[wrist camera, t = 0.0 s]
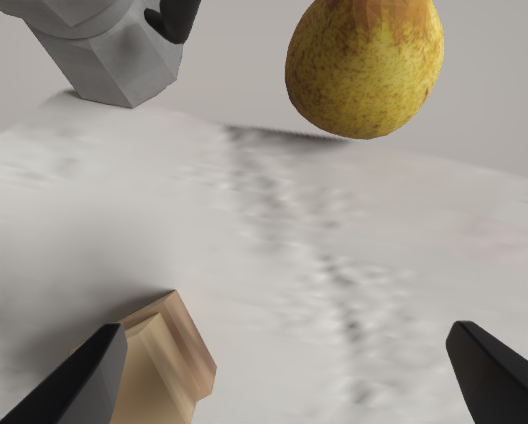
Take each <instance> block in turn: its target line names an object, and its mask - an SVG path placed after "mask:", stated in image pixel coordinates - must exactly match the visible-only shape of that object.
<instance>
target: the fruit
mask: <svg viewBox="0 0 528 424" xmlns="http://www.w3.org/2000/svg"><path fill="white" fill-rule="evenodd" d="M443 57H444V33H443V29H442V26H441V22H440V19H439V16H438V14H437V12H436V9H435V7H434V5H433V3H432V1H431V0H315V1H314V2H313V3H312V4H311V6H310V7H309V8H308V9H307V10H306V12H305V13H304V14H303V16H302V18H301V20H300V21H299V23H298V25H297V27H296V29H295V31H294V34H293V36H292V39H291V41H290V44H289V47H288V52H287V58H286V65H285V83H286V87H287V91H288V95H289V99H290V101H291V103H292V104H293V105H294V107H295V108H296V109H297V111H298V112H299V113H300V114H301V115H302V116H303V117H304V118H306V119H307V120H308V121H309V122H311V123H312V124H314V125H315V126H317V127H318V128H320V129H322V130H324V131H327V132H329V133H332V134H335V135H339V136H343V137H348V138H353V139H367V140H368V139H373V138H377V137H381V136H385V135H388V134H389V133H391V132H393V131H395V130H397V129H398V128H400V127H401V126H403V125H404V124H405V123H407V122H408V121H409V120H410V119H411V118H412V117H413V116H414V115H415V114H416V113H417V111H418V110H419V109H420V107H421V106H422V104H423V103H424V101H425V100H426V99H427V98H428V96H429V94H430V92H431V90H432V88H433V87H434V84H435V82H436V80H437V78H438V74H439V71H440V67H441V64H442V60H443Z"/></svg>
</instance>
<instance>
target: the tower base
mask: <svg viewBox="0 0 528 424" xmlns="http://www.w3.org/2000/svg"><path fill="white" fill-rule="evenodd" d="M159 312H160V314H161V315H162V317H163V319H164V321H165V323H166V325H167V327H168V329H169V331H170V333H171V335H172V336H173V338H174V340H175V342H176V344H177V346H178V348H179V350H180V352H181V354H182V355H183V357H184V359H185V361H186V363H187V365H188V367H189V369H190V371H191V373H192V374H193V376H194V378H195V380H196V382H197V384H198V386H199V388H200V391H199V395H198V398H197V401H199V400H201V399H203V398H204V397H206V396H208V395H210V394H211V393H212V389H213V384H214V379H215V374H216V369H217V366H216V364H215V362H214V360H213V358H212V357H211V355H210V353H209V351H208V349H207V347H206V345H205V343H204V341H203V339H202V338H201V336H200V334H199V332H198V330H197V328H196V326H195V324H194V322H193V320H192V319H191V317H190V315H189V313H188V311H187V309H186V307H185V305H184V303H183V301H182V299H181V298H180V296H179V294H178V292H177V290H175V291H173V292H171V293H169V294H167V295H165V296H164V297H162V298H160V299H158V300H156V301H154V302H152V303H150V304H149V305H147V306H145V307H143V308H141V309H139V310H137V311H136V312H134V313H132V314H130V315H128V316H126V317H124V318H123V319H121V320H119V321H117V322H121V323H122V324H123V326H124V330H125V331H126V330H128V329H130V328H131V327H133V326H135V325H137V324H139V323H141V322H143V321H144V320H146V319H148V318H150V317H152V316H154V315H156V314H157V313H159ZM85 341H86V340H85ZM85 341H84V342H85ZM84 342H82V343H81V344H80V345H78V346H77V347H75V348H74V349H73V350H71V351H70V352H68V353H69V355H71V354H72V353H73V352H74V351H75V350H76V349H77V348H79V347H80V346H81V345H82V344H83V343H84Z"/></svg>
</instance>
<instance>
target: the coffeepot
mask: <svg viewBox="0 0 528 424" xmlns="http://www.w3.org/2000/svg"><path fill="white" fill-rule="evenodd" d="M200 2H201V0H0V11H2V12H3V13H5V14H7V15H11V16H15V17H19V18H22V19H23V20H24V21H25V23H26V24H27V25H28V27H29V28H30V29H31V31H32V32H33V34H34V35H35V36H36V37H37V39H38V40H39V42H40V43H41V44H42V46H43V47H44V48H45V49H46V51H47V52H48V54H49V55H50V56H51V57H52V59H53V60H54V61H55V63H56V64H57V66H58V67H59V68H60V69H61V71H62V72H63V74H64V75H65V76H66V78H67V79H68V80H69V82H70V83H71V85H72V86H73V87H74V89H75V90H76V91H77V93H78V94H79V95H80V97H81V98H82V99H88V100H93V101H97V102H101V103H105V104H109V105H118V106H125V107H130V108H135V107H136V106H138V105H140V104H142V103H143V102H145V101H147V100H149V99H151V98H153V97H155V96H156V95H158V94H159V93H160V92H161V91H162V90H164V89H165V88H166V87H167V86H168V85H170V84H171V83H173V82H174V81H176V80H177V75H178V70H179V65H180V62H181V59H182V50H183V44H184V43H185V41H186V40H187V38H188V36H189V33H190V31H191V28H192V25H193V21H194V19H195V16H196V14H197V11H198V8H199V5H200Z"/></svg>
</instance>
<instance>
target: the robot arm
mask: <svg viewBox="0 0 528 424" xmlns="http://www.w3.org/2000/svg"><path fill="white" fill-rule="evenodd" d="M127 349H128V343H127V339H126V334H125V330H124V326H123V324H122V323H121V322H107V323H105V324H103V325H102V326H101V327H100V328H99V329H98V330H97V331H96V332H95V333H94V334H92V335H91V336H90V337H89V338H88V339H87V340H86V341H85V342H84V343H83V344H82V345H81V346H80V347H79V348H77V349H76V350H75V351H74V352H73V353H72V354H71V355H70V356H69V357H68V358H67V359H66V360H65V361H64V362H62V363H61V364H60V365H59V366H58V367H57V368H56V369H55V370H54V371H53V372H52V373H51V374H50V375H49V376H47V377H46V378H45V379H44V380H43V381H42V382H41V383H40V384H39V385H38V386H37V387H36V388H35V389H34V390H32V391H31V392H30V393H29V394H28V395H27V396H26V397H25V398H24V399H23V400H22V401H21V402H20V403H19V404H17V405H16V406H15V407H14V408H13V409H12V410H11V411H10V412H9V413H8V414H7V415H6V416H5V417H4V418H2V419H1V420H0V424H110V421H111V418H112V415H113V412H114V408H115V404H116V400H117V395H118V391H119V386H120V382H121V377H122V373H123V368H124V364H125V359H126V355H127ZM446 349H447V352H448V355H449V358H450V361H451V364H452V366H453V369H454V372H455V375H456V378H457V380H458V383H459V386H460V389H461V392H462V394H463V397H464V400H465V402H466V405H467V407H468V409H469V412H470V414H471V416H472V418H473V420H474V422H475V424H528V360H526V359H525V358H523V357H522V356H521V355H519V354H518V353H516V352H515V351H514V350H512V349H511V348H509V347H508V346H506V345H505V344H504V343H502V342H501V341H499V340H498V339H497V338H495V337H494V336H492V335H491V334H489V333H488V332H487V331H485V330H484V329H482V328H481V327H480V326H478V325H477V324H475V323H474V322H472V321H456V322H454V324H453V326H452V328H451V330H450V332H449V335H448V337H447V339H446Z"/></svg>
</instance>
